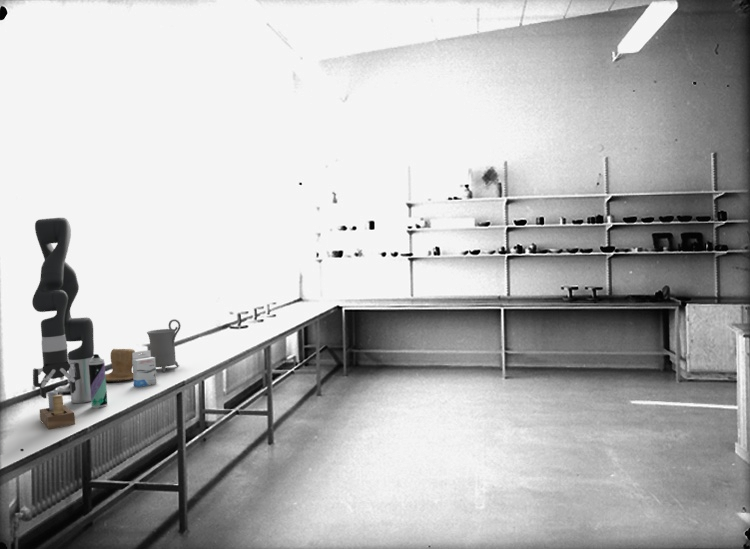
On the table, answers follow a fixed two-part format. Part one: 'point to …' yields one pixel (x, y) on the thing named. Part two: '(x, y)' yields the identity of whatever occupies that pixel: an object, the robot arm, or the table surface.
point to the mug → (163, 345)
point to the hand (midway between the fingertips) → (58, 395)
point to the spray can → (97, 382)
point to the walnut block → (57, 418)
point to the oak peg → (58, 404)
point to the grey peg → (51, 399)
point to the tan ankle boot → (121, 365)
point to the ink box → (143, 368)
